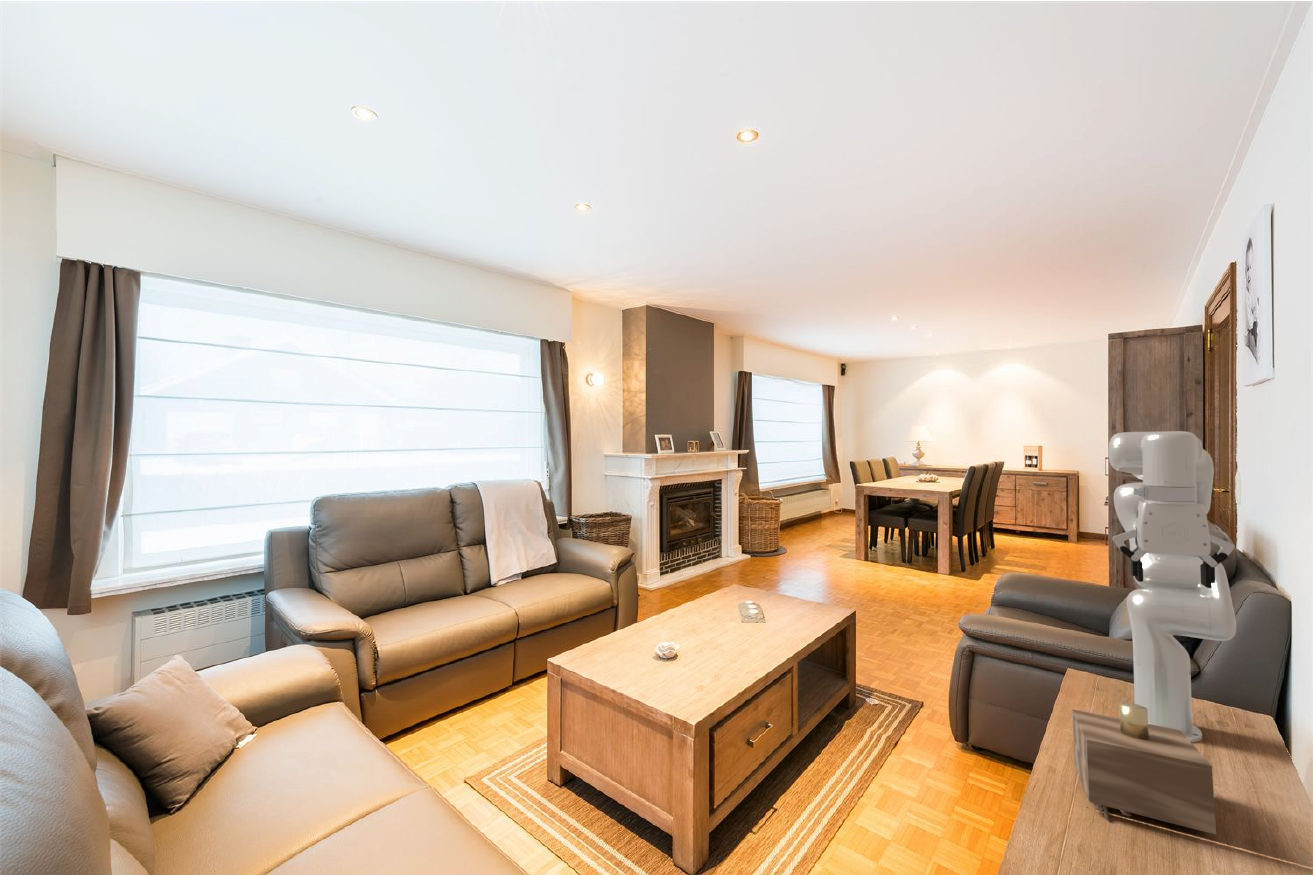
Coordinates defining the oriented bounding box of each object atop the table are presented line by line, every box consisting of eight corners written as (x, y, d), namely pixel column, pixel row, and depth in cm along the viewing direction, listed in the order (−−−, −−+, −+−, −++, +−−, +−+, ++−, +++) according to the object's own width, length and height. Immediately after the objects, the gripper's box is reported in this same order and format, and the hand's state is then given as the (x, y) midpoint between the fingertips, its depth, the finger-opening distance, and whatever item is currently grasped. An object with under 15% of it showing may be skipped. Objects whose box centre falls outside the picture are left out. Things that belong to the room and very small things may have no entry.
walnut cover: (1074, 763, 109) (1071, 684, 110) (1183, 788, 100) (1177, 702, 102) (1089, 801, 95) (1085, 710, 96) (1216, 834, 87) (1209, 733, 88)
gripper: (1115, 495, 105) (1117, 582, 105) (1240, 498, 96) (1243, 594, 96) (1107, 492, 112) (1110, 574, 111) (1224, 495, 102) (1227, 584, 102)
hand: (1171, 583), depth 104 cm, fingers open, 9 cm apart
